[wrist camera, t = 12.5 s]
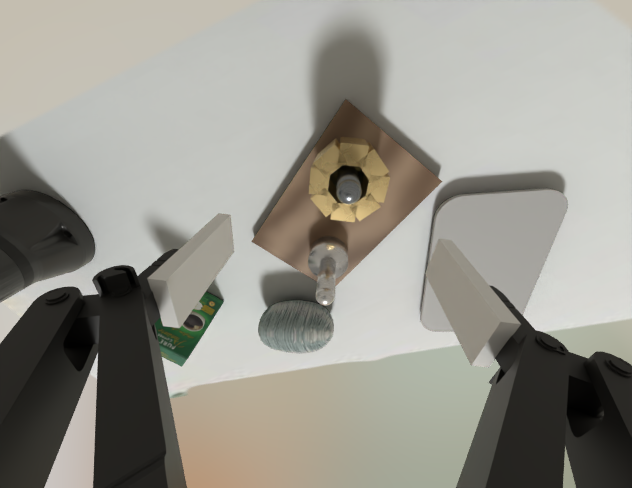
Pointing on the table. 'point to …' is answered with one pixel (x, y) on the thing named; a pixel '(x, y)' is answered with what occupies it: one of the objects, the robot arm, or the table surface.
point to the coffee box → (187, 330)
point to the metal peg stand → (348, 183)
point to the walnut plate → (360, 236)
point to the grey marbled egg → (296, 326)
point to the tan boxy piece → (372, 185)
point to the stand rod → (327, 266)
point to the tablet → (497, 242)
